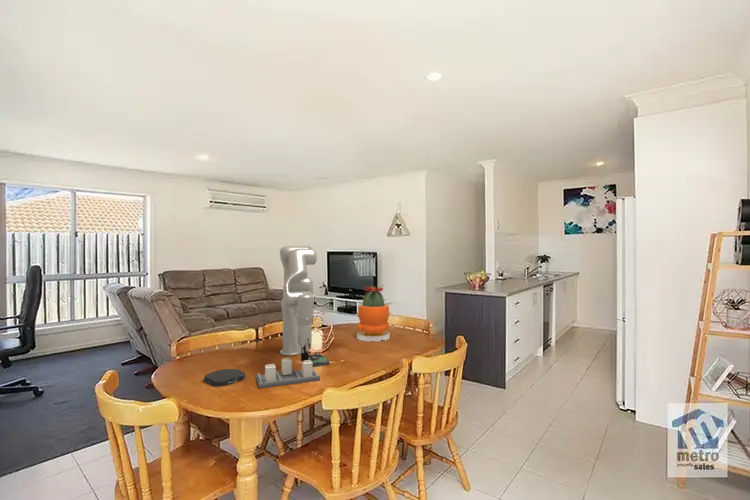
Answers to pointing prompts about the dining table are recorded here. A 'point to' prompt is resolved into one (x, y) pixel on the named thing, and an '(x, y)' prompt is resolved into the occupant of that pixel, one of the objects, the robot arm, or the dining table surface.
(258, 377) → the grey divided tray
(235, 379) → the media streaming box
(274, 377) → the tab
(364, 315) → the potted cactus
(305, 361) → the tab
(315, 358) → the disk drive
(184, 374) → the dining table surface
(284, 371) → the tab
